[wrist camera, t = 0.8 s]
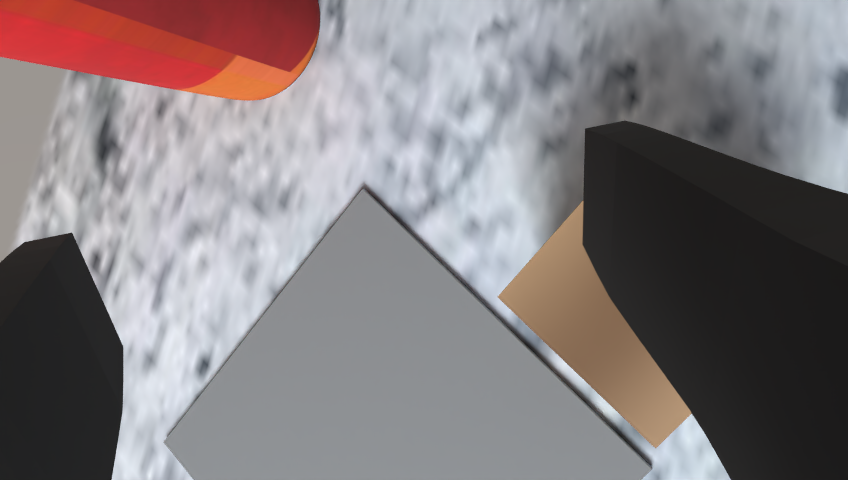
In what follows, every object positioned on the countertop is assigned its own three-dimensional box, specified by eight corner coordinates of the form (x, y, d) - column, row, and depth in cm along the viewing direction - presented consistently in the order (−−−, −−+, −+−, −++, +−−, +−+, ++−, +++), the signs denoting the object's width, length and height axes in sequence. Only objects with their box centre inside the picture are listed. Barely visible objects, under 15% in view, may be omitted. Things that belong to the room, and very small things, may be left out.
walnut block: (796, 275, 21) (821, 287, 16) (673, 397, 23) (655, 448, 17) (659, 163, 23) (637, 138, 17) (550, 283, 24) (497, 297, 19)
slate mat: (652, 467, 23) (652, 469, 23) (391, 719, 26) (389, 722, 26) (364, 189, 26) (362, 188, 26) (167, 441, 30) (163, 442, 29)
